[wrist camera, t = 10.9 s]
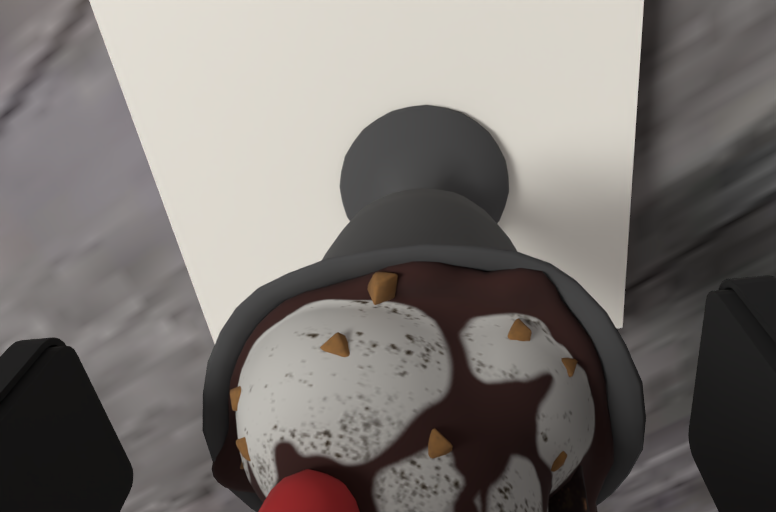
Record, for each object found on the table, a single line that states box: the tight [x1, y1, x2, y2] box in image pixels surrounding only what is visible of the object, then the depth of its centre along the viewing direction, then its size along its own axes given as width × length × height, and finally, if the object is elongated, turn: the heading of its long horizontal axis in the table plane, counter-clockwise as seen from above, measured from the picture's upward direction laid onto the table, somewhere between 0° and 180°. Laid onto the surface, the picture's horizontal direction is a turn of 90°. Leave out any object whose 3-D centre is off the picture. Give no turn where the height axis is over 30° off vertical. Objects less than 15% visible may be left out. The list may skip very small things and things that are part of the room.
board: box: [89, 0, 644, 344], centre depth 18 cm, size 14×16×1 cm
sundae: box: [203, 105, 646, 512], centre depth 12 cm, size 7×7×15 cm
